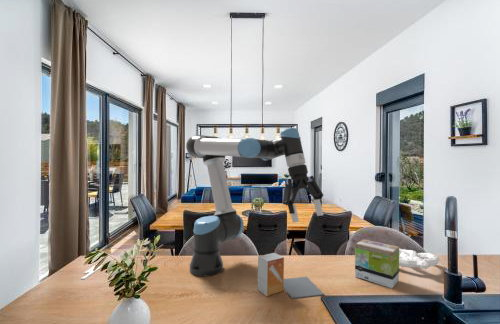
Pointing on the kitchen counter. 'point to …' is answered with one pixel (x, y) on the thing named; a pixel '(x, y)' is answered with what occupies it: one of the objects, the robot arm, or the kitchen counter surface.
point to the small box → (270, 273)
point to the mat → (301, 287)
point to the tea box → (377, 262)
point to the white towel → (417, 259)
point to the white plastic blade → (90, 272)
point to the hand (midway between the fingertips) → (308, 218)
